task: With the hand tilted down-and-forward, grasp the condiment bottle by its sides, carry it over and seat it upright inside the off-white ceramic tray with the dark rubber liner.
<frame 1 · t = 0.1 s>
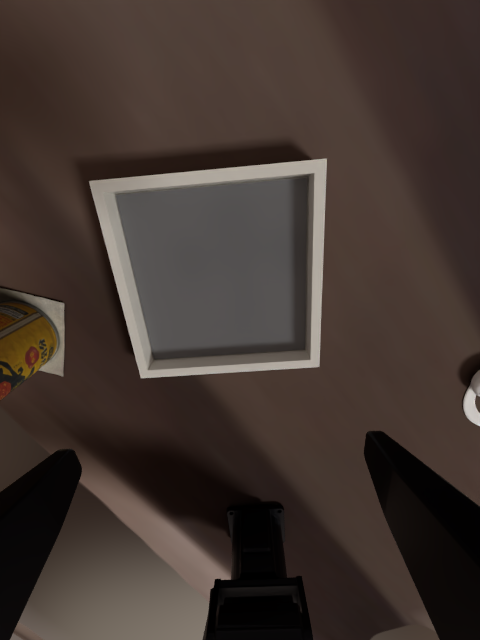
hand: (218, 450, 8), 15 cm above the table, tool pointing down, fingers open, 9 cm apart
tray: (221, 278, 21), on the table
condiment: (16, 328, 23), on the table
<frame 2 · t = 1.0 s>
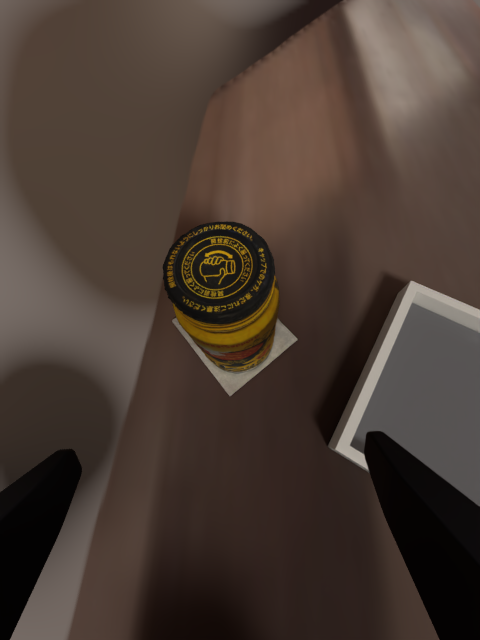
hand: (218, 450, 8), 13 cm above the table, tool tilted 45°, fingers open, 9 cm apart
tray: (459, 411, 20), on the table
condiment: (233, 331, 24), on the table
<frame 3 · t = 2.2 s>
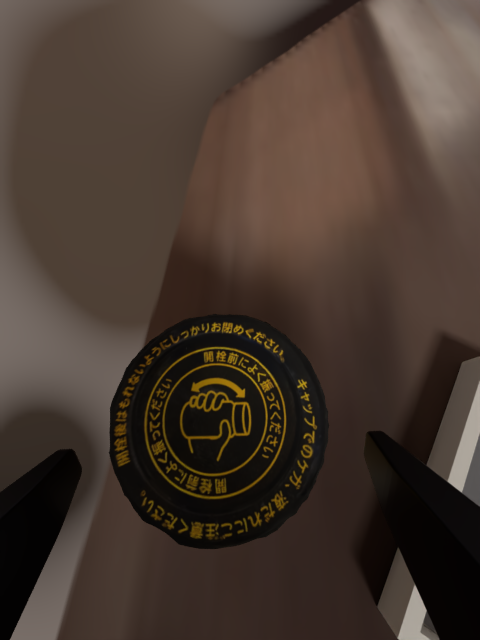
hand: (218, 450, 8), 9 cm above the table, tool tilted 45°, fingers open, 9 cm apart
condiment: (238, 411, 18), on the table
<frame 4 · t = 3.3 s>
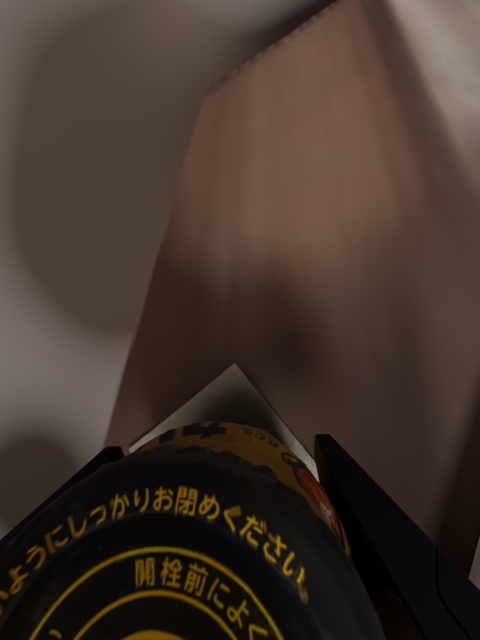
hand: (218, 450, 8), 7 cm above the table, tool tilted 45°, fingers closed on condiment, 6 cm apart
condiment: (231, 471, 14), on the table, touching gripper
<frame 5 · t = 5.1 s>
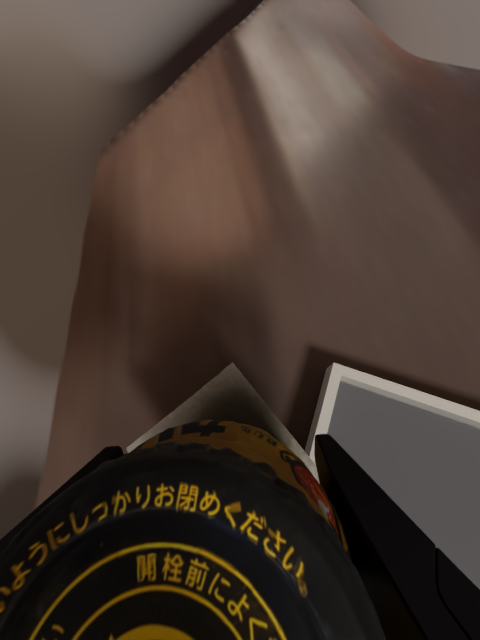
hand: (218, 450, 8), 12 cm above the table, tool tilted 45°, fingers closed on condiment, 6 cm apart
tray: (410, 512, 17), on the table
condiment: (228, 469, 14), point 5 cm above the table, touching gripper
when the fingers open (8 cm above the table, at t = 6.9 s): condiment stays where it is, resting on tray.
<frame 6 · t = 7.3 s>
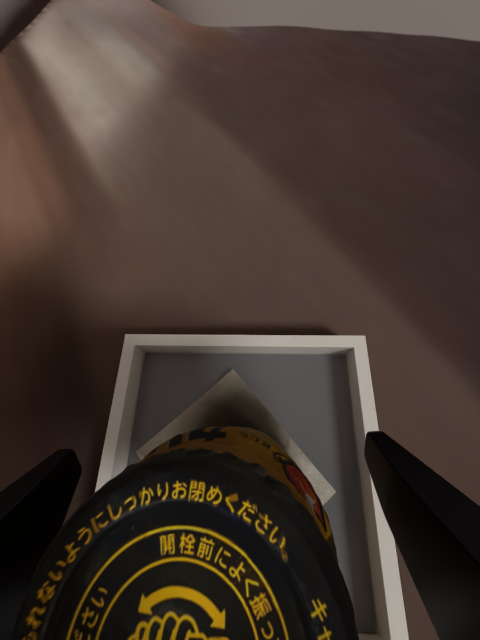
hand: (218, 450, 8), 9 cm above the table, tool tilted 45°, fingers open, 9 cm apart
tray: (240, 465, 16), on the table
condiment: (231, 469, 15), point 1 cm above the table, touching tray
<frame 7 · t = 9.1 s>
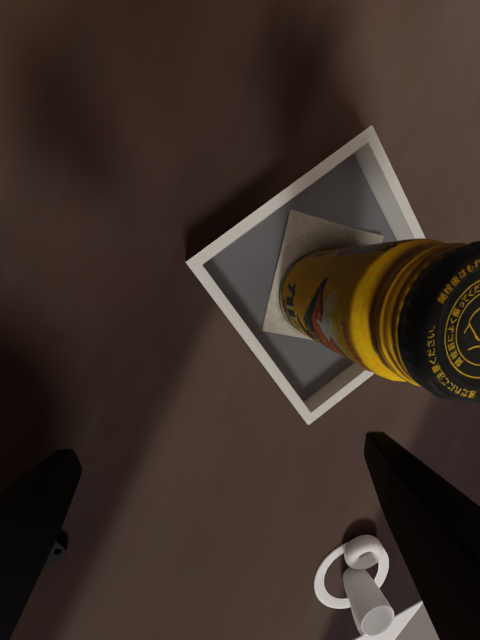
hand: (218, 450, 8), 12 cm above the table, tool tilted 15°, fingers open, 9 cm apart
tray: (322, 285, 21), on the table
white ring with post: (374, 552, 28), on the table
condiment: (320, 282, 20), point 1 cm above the table, touching tray
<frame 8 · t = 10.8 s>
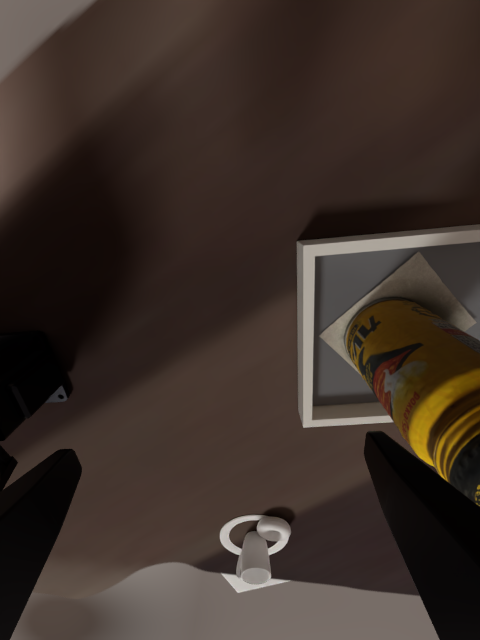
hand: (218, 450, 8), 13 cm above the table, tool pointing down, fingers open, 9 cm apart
tray: (391, 328, 21), on the table
white ring with post: (279, 532, 32), on the table
condiment: (393, 326, 20), point 1 cm above the table, touching tray
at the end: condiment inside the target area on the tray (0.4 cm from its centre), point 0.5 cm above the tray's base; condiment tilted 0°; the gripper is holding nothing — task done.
